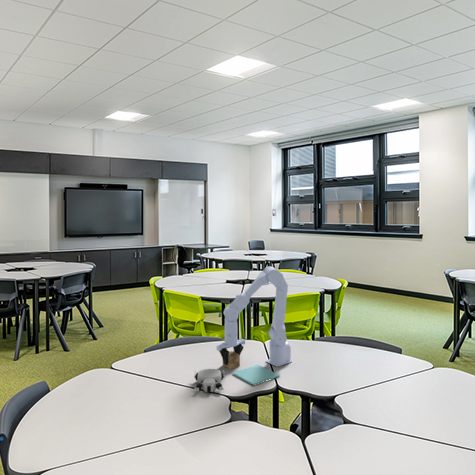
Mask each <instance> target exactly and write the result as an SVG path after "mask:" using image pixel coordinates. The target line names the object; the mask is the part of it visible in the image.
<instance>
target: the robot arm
mask: <svg viewBox="0 0 475 475" xmlns="http://www.w3.org/2000/svg"><path fill="white" fill-rule="evenodd" d="M270 284H272V286H274V287H275V296H274V308H273V309H274V310H273V319H272V323H271V326H270V329H269V330H268V336H269V338H270V340H269V359H265V362H266V363H268V364H271V365H273V367H274V366H275V367H276V368H277V367H280V366H284V365H287V364H289V363H292V359H291V353H292V351H291V345H290V343H289V342H288V341H287V340H288V338H287V335H286V326H285V322H286V321H285V319H286V309H287V300H288V289H289V288H288V286H289V285H288V283H287V281H286V279H285V277H284V274H283V273H282V272H280V270H278V269H276V268H275V267H273V266H271V265H270V266H266V267H264V269H263V270H262V271H261V272H259V274H258V275H257V277H256V278H255V279H254V280H253V282H252V283H251V284H250V285H249V287H247V289H246V290H245V292H243V293H242V292H241V293H239V294H236V295H235V298H234V300H232V302H231V303H228V306H226V307H225V308H224V309H223V315H224V341H223V342H222V343H220V344H218V345H216V351H217V352H219V353H220V356H221V358H222V363H223V362H224V364H225V365H228V355H229V352H230V351H229V350H228V349H230V348H233V351H234V352H236V353H238V354H240V355H241V354H242V352H243V350H244V346H243V345H246V339H243V338H241V339H238V319H239V314H240V313H241V312H242V311H243V310H244V309H245V308H246V307H247V305H249V303H250V299H251V297H252V296H253V295H254V294H255V293H256V292H257V291H258V290H259V289H260V288H261V287H263V286H267V285H270Z"/></svg>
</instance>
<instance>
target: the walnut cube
mask: <svg viewBox="0 0 475 475" xmlns="http://www.w3.org/2000/svg"><path fill="white" fill-rule="evenodd" d="M240 361H241V354H238V353H236V352H234V350H231V351H229V355H228V365H225V364H224V362H223V361H222V366H223V367H225V368H227V369H229V370H232V369H235V367H236V368H239V367H241V365H240V364H241V362H240ZM238 366H239V367H238Z"/></svg>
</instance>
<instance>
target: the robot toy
mask: <svg viewBox="0 0 475 475" xmlns="http://www.w3.org/2000/svg"><path fill="white" fill-rule="evenodd" d="M194 373H195V374H194V377H193V378H194V379H195V381H197V382H198V383H196V384H197V385H195V387H194V391H196V392H199V391H200V390H201V389H202V391H204V392H205V393H213V392H214V391H215V390H216V389H217V390H219V391H223V390H225V389H224V387H223V385H222V383H221V382H222V381H223V380H224V378H225V373H224V372H222V371H221V370H220V369H216V368H205V369H200V370H198V372H196V370H195V369H194Z"/></svg>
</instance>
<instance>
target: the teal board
mask: <svg viewBox="0 0 475 475" xmlns="http://www.w3.org/2000/svg"><path fill="white" fill-rule="evenodd" d="M232 375H233V376H235V377H236V376H237V377H236V378H238V377H239V379H240V378H241V379H240V380H242V381H243V382H245V381H246V382H245V383H247V382H248V383H247V384H249V383H250V384H249V385H251V384H253V385H255V384H258V383H261V382H263V381H266V380H269V379H272V380H274V379H273V378H275V379H277V378H276V377H278V378H280V374H277V373H276V372H274V371H272V370H270V369H268V368H266V367H264V366H261V365H259V364H256V365H253V366H250V367H247V368H243V369H240V370H237V371H234V372H232ZM269 381H270V380H269ZM266 382H267V381H266ZM261 384H262V383H261ZM253 385H252V386H253ZM258 385H259V384H258ZM255 386H256V385H255Z"/></svg>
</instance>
